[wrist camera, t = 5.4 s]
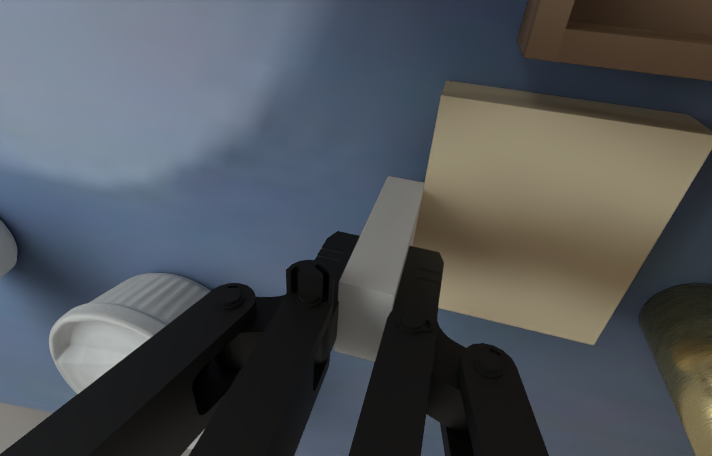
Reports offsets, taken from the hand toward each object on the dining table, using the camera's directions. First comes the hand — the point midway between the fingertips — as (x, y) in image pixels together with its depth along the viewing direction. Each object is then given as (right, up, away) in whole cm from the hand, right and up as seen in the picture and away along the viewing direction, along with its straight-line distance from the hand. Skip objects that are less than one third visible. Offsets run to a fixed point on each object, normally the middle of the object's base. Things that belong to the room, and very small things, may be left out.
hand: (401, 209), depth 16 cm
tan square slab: (+5, 0, +1) cm, 5 cm away
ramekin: (-13, -7, +11) cm, 18 cm away
